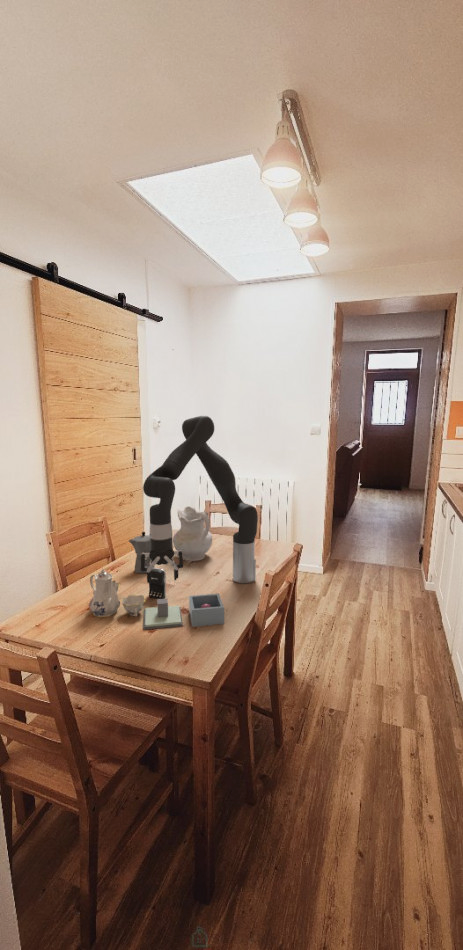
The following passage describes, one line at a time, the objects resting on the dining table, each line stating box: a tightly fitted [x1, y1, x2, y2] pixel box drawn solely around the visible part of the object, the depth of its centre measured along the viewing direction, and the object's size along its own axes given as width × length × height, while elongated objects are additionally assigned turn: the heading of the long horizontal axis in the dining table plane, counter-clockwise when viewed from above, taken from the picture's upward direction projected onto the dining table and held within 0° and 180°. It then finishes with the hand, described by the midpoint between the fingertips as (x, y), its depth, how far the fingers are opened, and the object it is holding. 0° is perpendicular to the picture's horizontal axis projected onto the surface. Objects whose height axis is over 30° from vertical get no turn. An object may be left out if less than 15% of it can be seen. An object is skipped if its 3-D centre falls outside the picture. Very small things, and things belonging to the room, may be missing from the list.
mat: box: [142, 606, 184, 631], centre depth 145 cm, size 13×13×1 cm
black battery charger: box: [146, 567, 167, 600], centre depth 160 cm, size 7×4×11 cm, turn 70°
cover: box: [145, 598, 182, 627], centre depth 144 cm, size 12×12×6 cm
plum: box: [201, 604, 211, 608], centre depth 145 cm, size 4×4×4 cm
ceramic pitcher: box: [172, 506, 213, 562], centre depth 203 cm, size 22×20×25 cm
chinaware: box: [88, 568, 147, 618], centre depth 151 cm, size 28×17×17 cm, turn 51°
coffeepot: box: [128, 531, 156, 575], centre depth 187 cm, size 15×9×18 cm, turn 113°
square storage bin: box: [188, 593, 225, 628], centre depth 145 cm, size 11×11×6 cm
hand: (162, 580), depth 143 cm, fingers open, 8 cm apart
